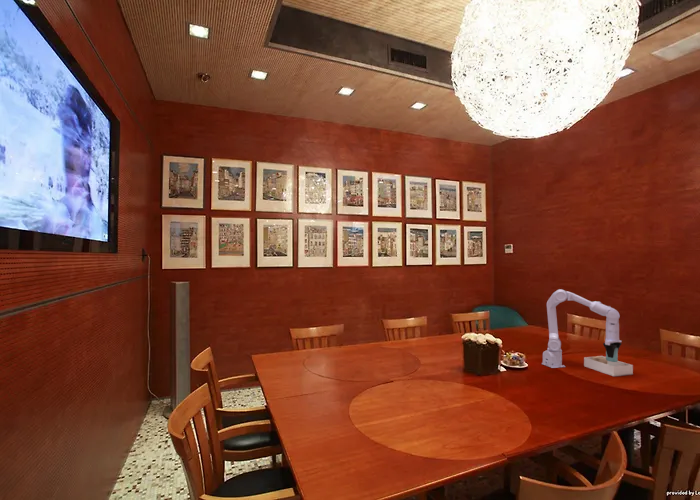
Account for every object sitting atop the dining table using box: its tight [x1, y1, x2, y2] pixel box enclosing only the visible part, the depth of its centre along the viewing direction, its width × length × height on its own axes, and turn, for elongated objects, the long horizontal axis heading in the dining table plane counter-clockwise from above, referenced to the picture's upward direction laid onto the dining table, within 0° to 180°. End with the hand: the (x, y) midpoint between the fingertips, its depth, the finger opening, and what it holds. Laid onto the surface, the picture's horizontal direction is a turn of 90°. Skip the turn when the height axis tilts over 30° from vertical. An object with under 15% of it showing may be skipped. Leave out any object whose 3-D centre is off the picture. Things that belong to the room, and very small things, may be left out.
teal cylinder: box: [605, 348, 619, 362], centre depth 186 cm, size 5×5×7 cm
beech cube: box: [591, 355, 608, 365], centre depth 196 cm, size 5×5×5 cm
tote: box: [583, 355, 634, 377], centre depth 192 cm, size 13×17×5 cm
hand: (612, 356), depth 186 cm, fingers closed on teal cylinder, 5 cm apart
